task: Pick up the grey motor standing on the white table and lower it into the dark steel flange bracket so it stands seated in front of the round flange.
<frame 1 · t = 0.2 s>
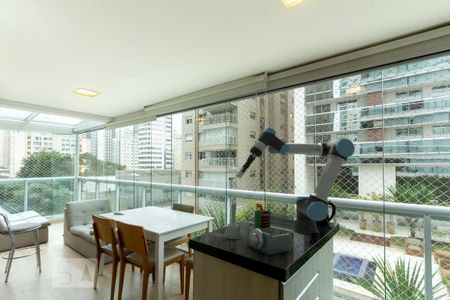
hand: (238, 177, 144), 35 cm above the worktop, tool tilted 35°, fingers open, 13 cm apart
motor: (261, 239, 137), on the worktop
flange bracket: (267, 247, 121), on the worktop
engine component: (233, 236, 141), on the worktop
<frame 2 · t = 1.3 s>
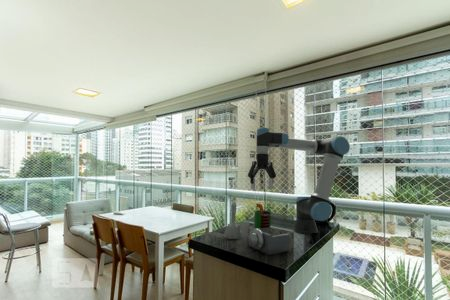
hand: (262, 189, 139), 29 cm above the worktop, tool pointing down, fingers open, 13 cm apart
nothing on the worktop moved.
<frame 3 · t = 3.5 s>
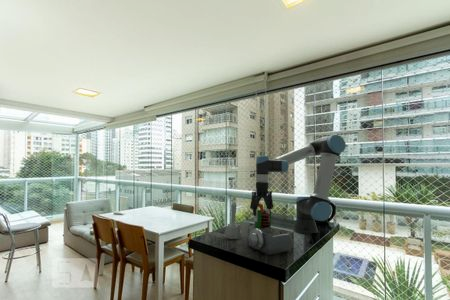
hand: (261, 220, 138), 10 cm above the worktop, tool pointing down, fingers closed on motor, 8 cm apart
motor: (261, 239, 137), on the worktop, touching gripper
everything else where it was.
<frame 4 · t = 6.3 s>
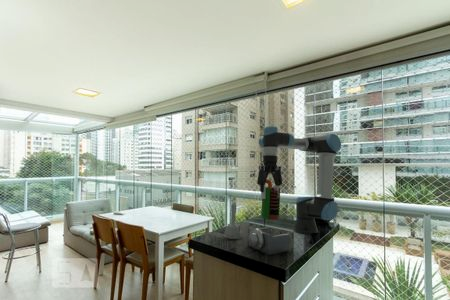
hand: (269, 198, 124), 25 cm above the worktop, tool pointing down, fingers closed on motor, 8 cm apart
motor: (269, 218, 123), point 15 cm above the worktop, touching gripper
everything else where it was.
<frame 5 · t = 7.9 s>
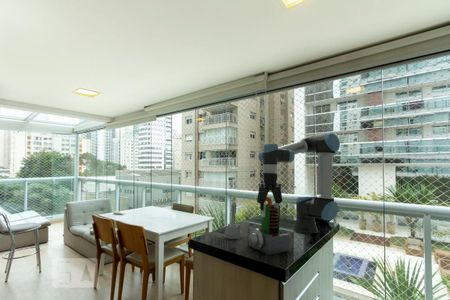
hand: (269, 216, 123), 16 cm above the worktop, tool pointing down, fingers closed on motor, 8 cm apart
motor: (269, 236, 122), point 5 cm above the worktop, touching gripper
everything else where it was.
when the fingers open (12 cm above the worktop, at t = 9.2 s): motor drops 2 cm, on the worktop.
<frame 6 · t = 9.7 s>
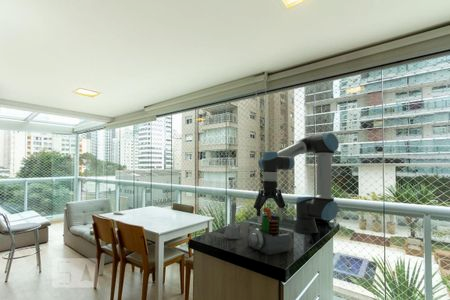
hand: (269, 221, 123), 13 cm above the worktop, tool pointing down, fingers open, 13 cm apart
motor: (269, 248, 122), on the worktop
everything else where it was.
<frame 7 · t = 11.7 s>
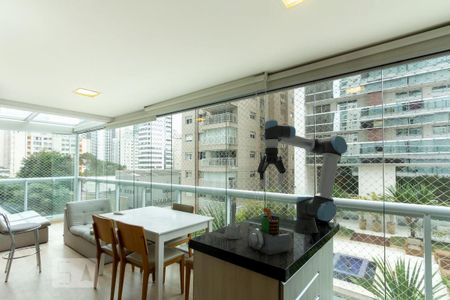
hand: (272, 185, 132), 32 cm above the worktop, tool pointing down, fingers open, 13 cm apart
nothing on the worktop moved.
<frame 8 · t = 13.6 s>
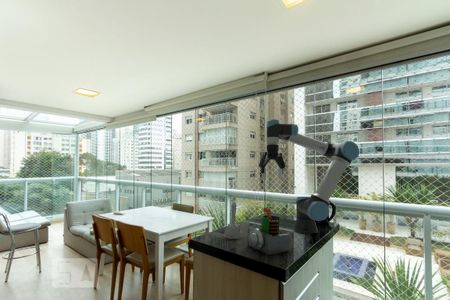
hand: (272, 179, 144), 35 cm above the worktop, tool pointing down, fingers open, 13 cm apart
nothing on the worktop moved.
at the end: motor inside the target area (0.1 cm from its centre), on the worktop; motor tilted 0°; the gripper is holding nothing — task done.
